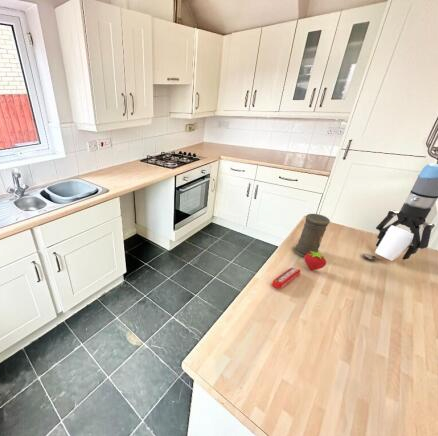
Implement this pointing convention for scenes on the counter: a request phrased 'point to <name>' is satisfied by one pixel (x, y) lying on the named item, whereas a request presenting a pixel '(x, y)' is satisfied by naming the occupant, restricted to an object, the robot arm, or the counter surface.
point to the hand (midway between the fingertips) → (391, 251)
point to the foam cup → (394, 243)
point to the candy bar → (285, 278)
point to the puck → (369, 257)
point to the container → (312, 234)
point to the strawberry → (314, 261)
